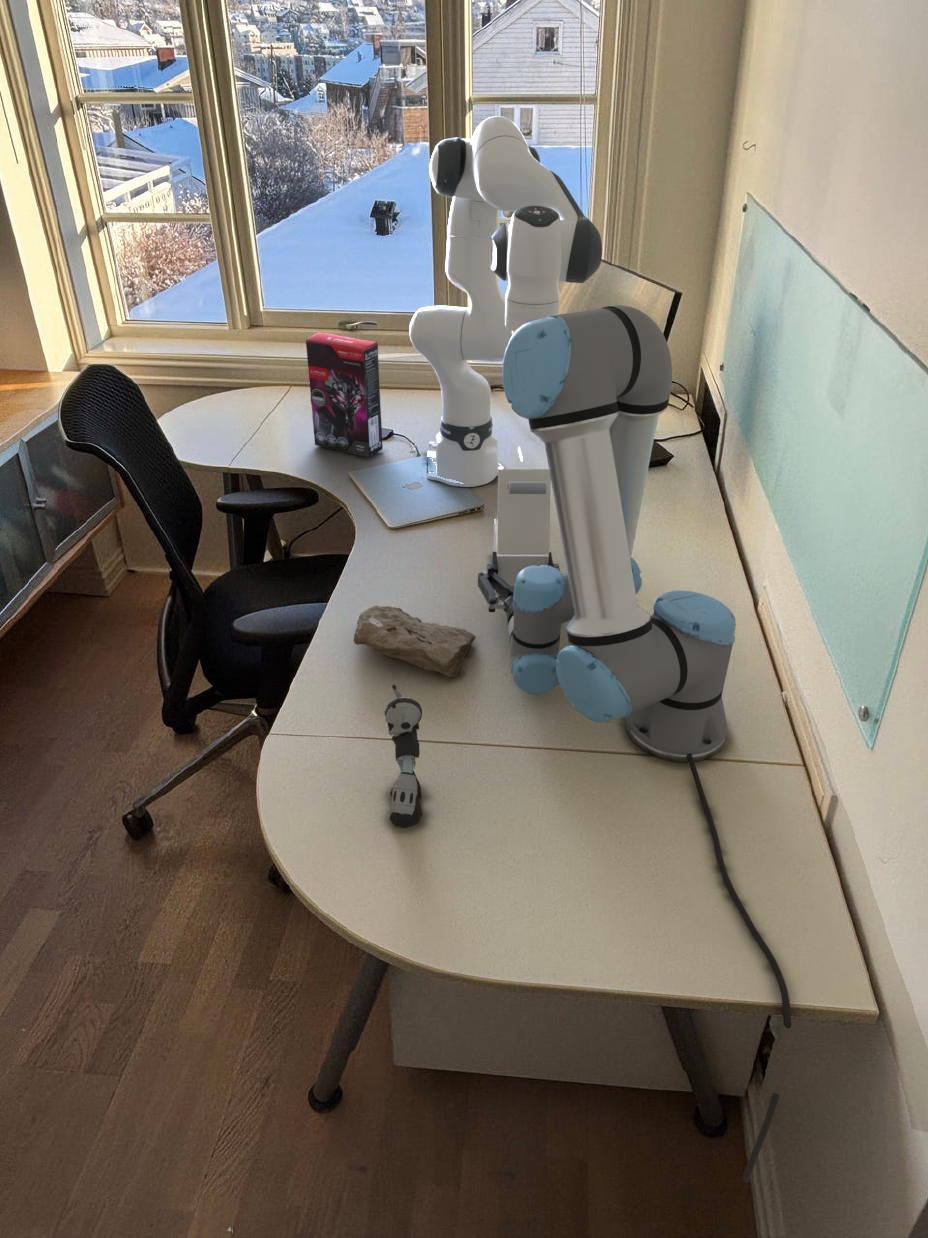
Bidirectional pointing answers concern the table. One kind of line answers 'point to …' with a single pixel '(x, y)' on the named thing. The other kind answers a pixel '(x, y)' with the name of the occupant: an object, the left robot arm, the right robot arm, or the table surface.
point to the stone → (413, 639)
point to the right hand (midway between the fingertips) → (521, 557)
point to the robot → (405, 758)
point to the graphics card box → (345, 393)
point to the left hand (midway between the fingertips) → (527, 396)
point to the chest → (515, 561)
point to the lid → (523, 511)
